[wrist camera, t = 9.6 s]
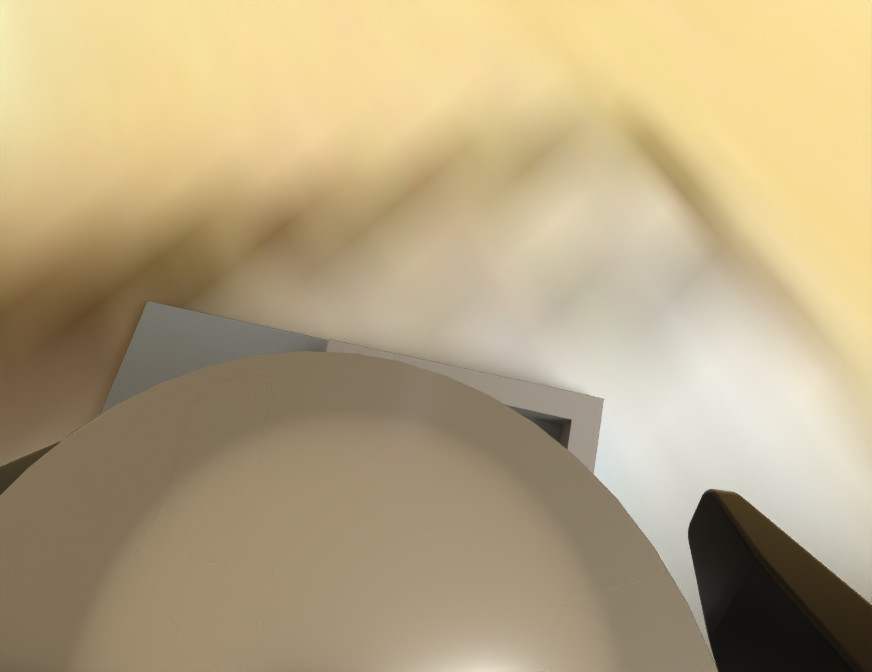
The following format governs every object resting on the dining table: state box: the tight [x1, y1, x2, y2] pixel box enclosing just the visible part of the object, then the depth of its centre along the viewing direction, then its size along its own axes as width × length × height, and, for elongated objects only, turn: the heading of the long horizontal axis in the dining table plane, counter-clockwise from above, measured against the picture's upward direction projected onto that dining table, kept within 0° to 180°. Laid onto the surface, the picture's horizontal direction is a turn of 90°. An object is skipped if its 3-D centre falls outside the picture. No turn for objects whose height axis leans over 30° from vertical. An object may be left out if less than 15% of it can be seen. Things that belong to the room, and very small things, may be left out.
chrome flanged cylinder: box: [0, 351, 718, 672], centre depth 9 cm, size 5×5×13 cm
